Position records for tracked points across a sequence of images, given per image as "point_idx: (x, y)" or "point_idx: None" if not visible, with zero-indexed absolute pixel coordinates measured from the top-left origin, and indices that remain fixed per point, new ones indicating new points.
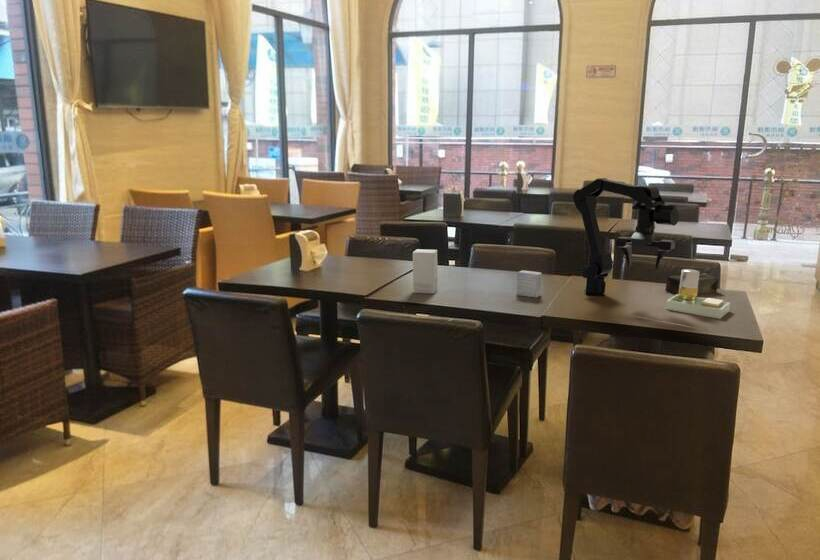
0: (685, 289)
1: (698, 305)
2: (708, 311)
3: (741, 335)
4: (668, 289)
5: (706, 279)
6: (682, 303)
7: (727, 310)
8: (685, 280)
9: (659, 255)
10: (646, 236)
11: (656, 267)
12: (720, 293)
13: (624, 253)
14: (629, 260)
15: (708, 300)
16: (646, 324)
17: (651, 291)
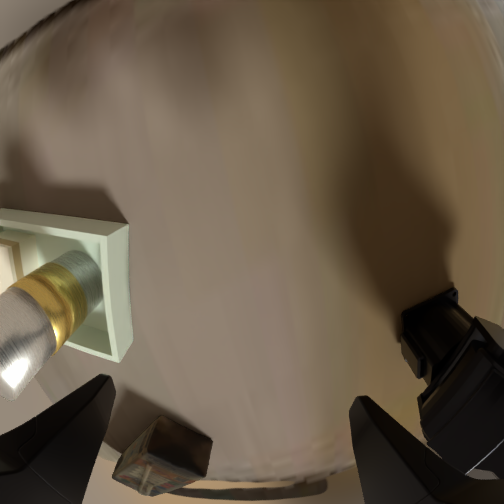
0: (25, 282)
1: (16, 225)
2: (6, 214)
3: None
4: (199, 441)
5: (120, 470)
6: (54, 227)
7: None
8: (2, 307)
9: (7, 454)
10: None
11: (94, 382)
12: (110, 447)
13: (458, 471)
14: (382, 436)
15: (6, 279)
16: None
17: (249, 433)
